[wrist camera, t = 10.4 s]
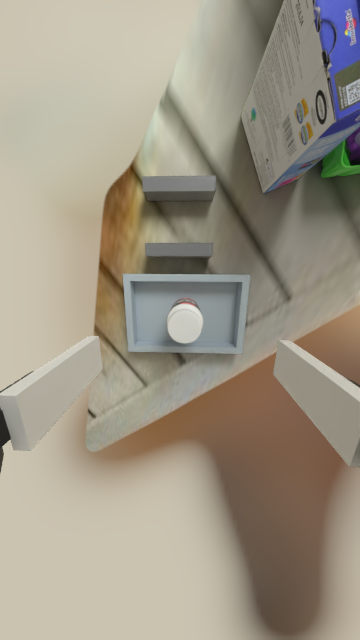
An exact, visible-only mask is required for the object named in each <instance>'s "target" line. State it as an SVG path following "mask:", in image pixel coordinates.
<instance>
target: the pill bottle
mask: <svg viewBox="0 0 360 640" xmlns="http://www.w3.org/2000/svg"><path fill="white" fill-rule="evenodd" d="M202 327H203V316H202V313H201V310H200V307H199V305H198V304H197V302H196V301H194V300H193V299H190V298H181V299H179V300H177V301H176V302H175V303H174V304H173V306H172V308H171V310H170V312H169V314H168V317H167V328H168V333H169V335H170V336H171V338H172V339H173V340H175V341H176V342H179V343H184V344H185V343H191V342H193V341H195V340H196V339H197V338H198V337H199V335H200V333H201V330H202Z"/></svg>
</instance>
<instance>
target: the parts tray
mask: <svg viewBox="0 0 360 640" xmlns="http://www.w3.org/2000/svg"><path fill="white" fill-rule="evenodd" d="M123 284H124V298H125V312H126V326H127V340H128V352H173V353H221V354H243V344H244V334H245V324H246V314H247V304H248V294H249V285H250V275H234V274H123ZM181 298H190V299H193V300H194V301H196V302H197V304H198V305H199V307H200V310H201V313H202V316H203V327H202V330H201V333H200V335H199V337H198V338H197V339H196V340H195V341H193V342H191V343H185V344H184V343H179V342H176V341H175V340H173V339H172V338H171V336H170V335H169V333H168V328H167V317H168V314H169V312H170V310H171V308H172V306H173V304H174V303H175V302H176V301H177V300H179V299H181Z"/></svg>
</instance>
